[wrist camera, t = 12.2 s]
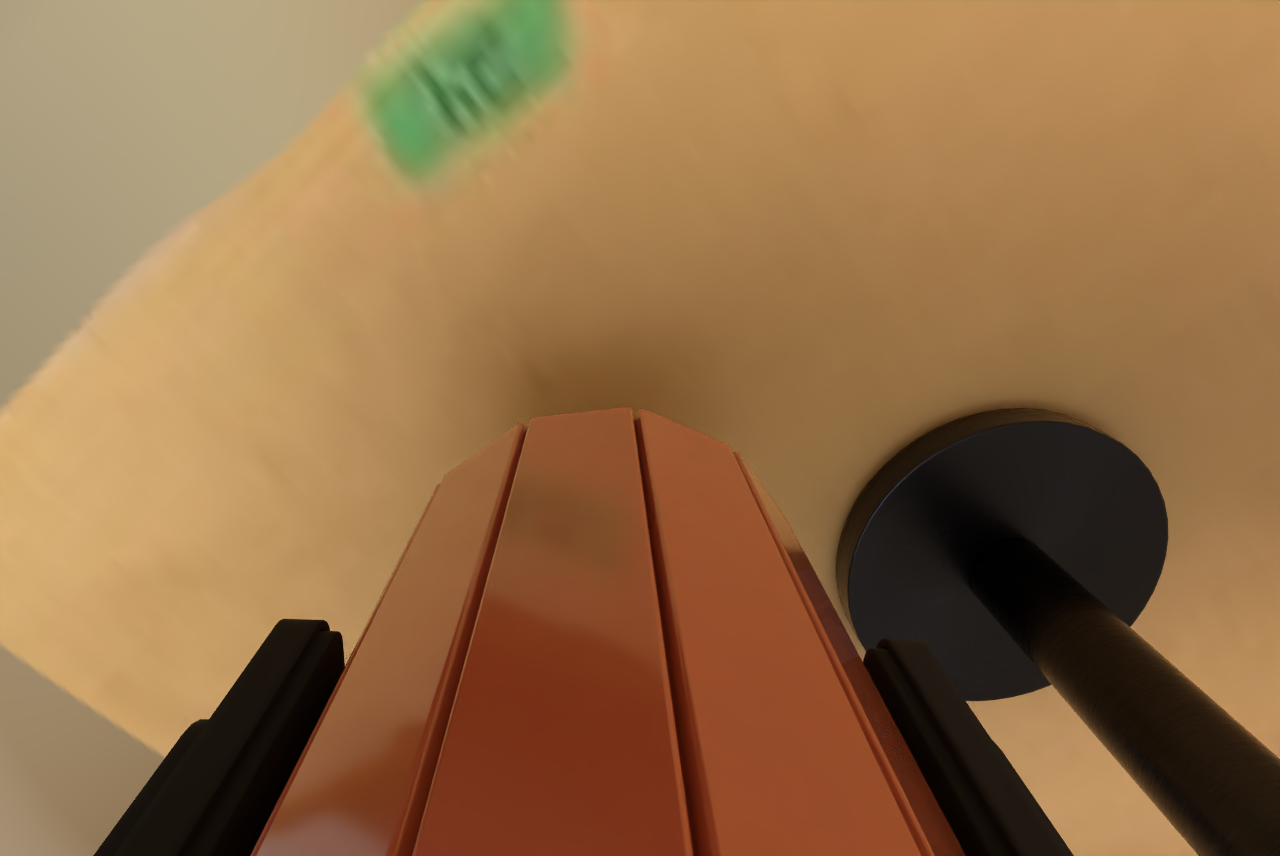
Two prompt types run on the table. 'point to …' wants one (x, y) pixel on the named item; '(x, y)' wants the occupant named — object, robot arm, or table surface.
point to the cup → (605, 673)
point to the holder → (1053, 604)
